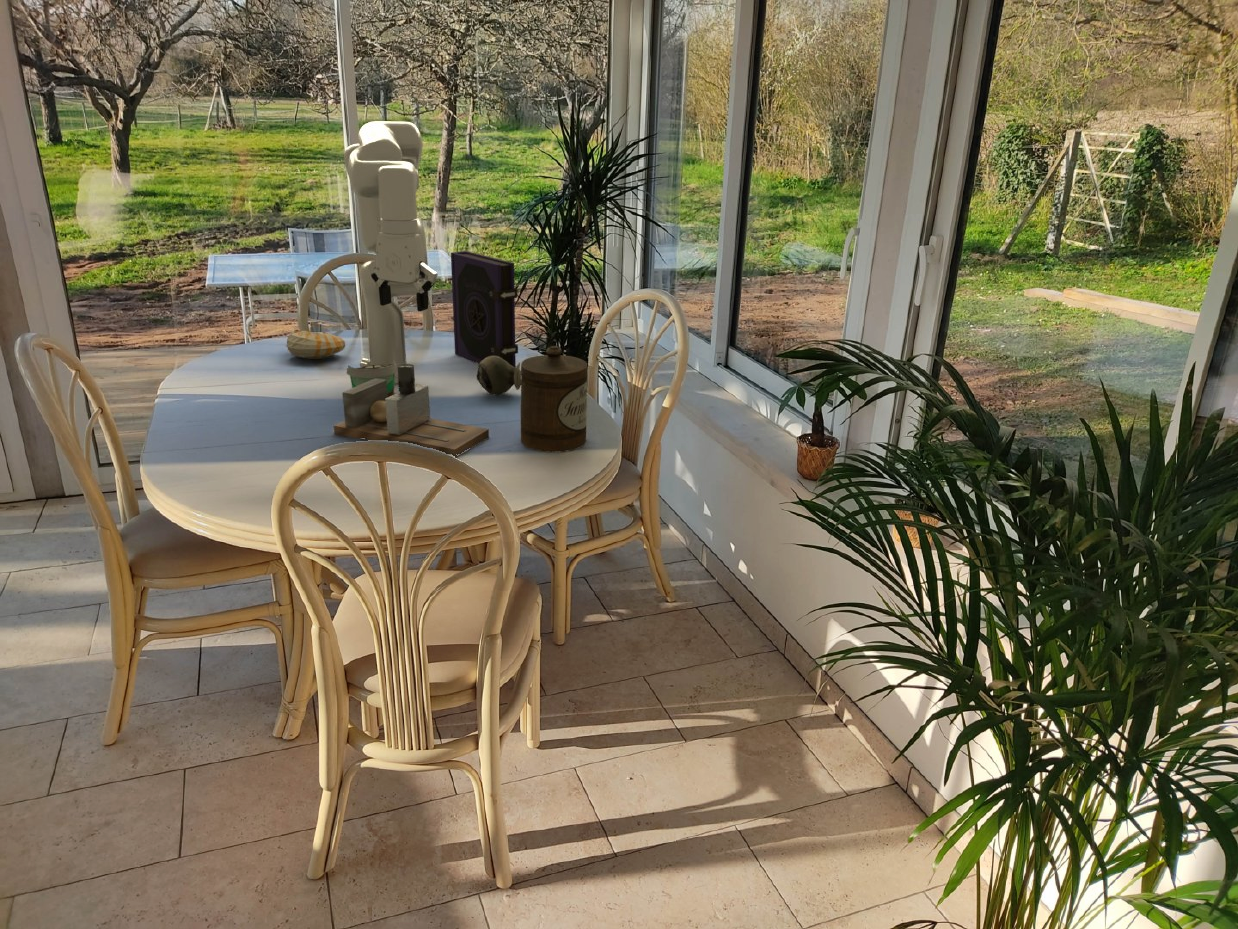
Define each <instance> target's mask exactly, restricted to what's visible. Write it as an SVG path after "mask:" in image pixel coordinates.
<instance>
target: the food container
mask: <svg viewBox="0 0 1238 929" xmlns="http://www.w3.org/2000/svg"><path fill="white" fill-rule="evenodd" d="M396 372H397V366H396V363H395V361H394V364H389V365H369V366H365V367H352V366H350V365H349V364H348V366H347V368H346V374H347V375H348V376H349V378H350V383H351V388H354V387H356V386H358V385H361V384H363V383H366V382H368V381H370V380H373V379H375V378H378V379H384V380H387V393H388V397H390V396H392V395H394V394H395V383H394V376H395V373H396Z"/></svg>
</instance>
